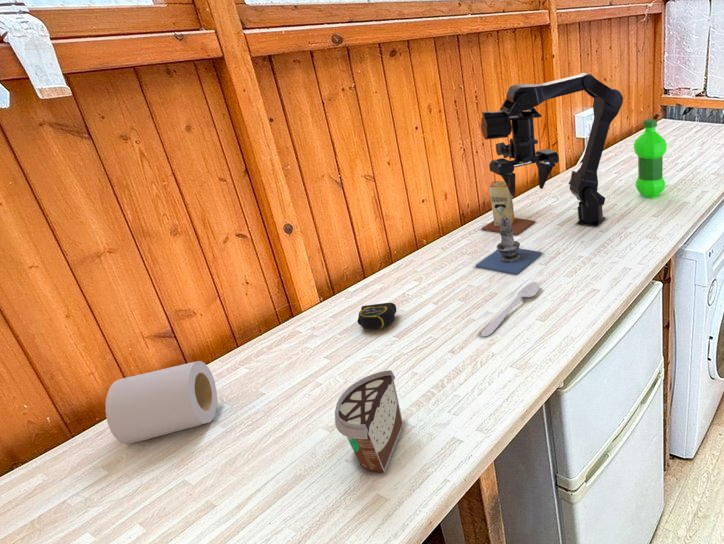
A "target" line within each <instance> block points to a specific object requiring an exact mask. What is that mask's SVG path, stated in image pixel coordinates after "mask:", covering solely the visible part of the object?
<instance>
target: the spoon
mask: <svg viewBox="0 0 724 544" xmlns="http://www.w3.org/2000/svg"><path fill="white" fill-rule="evenodd" d="M539 288H540V285H539V283H538V282H536V281H532V282H529V283H528V284H526V285H525V286H523V287H522V288H521V289H520V290H518V292H517V296H516V297H515V298H514V299H513V301H512V302H511V303H510V304H509V305H508V306H507V307H506V308H505V309H504V310H502V311H501V312H500V314H498V316H497V317H495V319H493V321H490V323H489V324H488V325H487V326H486V327H485V328H484V329H482V331H481V333H480V335H481V337H483V338H484V337H485V338H486V337H489V336H490V335H491V334H493V333H494V332H495V330H496V329H498V327H499V326H500V324H501V323H502V322H503V321H504V319H505V318H506V317H507V315H508V314H509V312H510V311H511V309H512V308H513V307H514V306H515V304H517V302H518V301H519V300H520V299H521V298H530V297H531V298H532V297H534V296H535V295H537V293H538V291H539Z"/></svg>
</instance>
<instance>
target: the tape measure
mask: <svg viewBox="0 0 724 544" xmlns="http://www.w3.org/2000/svg"><path fill="white" fill-rule="evenodd" d="M396 313H397V306H396V304H395V303H394V302H384V303H375V304H367V305H362V306H361V308H360V311H359V313H358V317H357V324H358V325H359V326H360V327H362V329H363V330H366V331H377V330H381V329H384V328H387V327H388V326H390V325H391V324H392V323H393V322H394V321H395V319H396Z"/></svg>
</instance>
